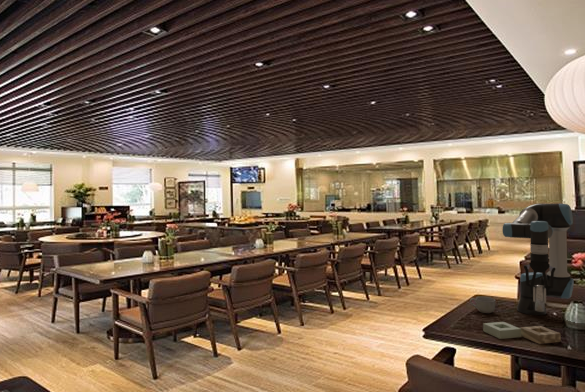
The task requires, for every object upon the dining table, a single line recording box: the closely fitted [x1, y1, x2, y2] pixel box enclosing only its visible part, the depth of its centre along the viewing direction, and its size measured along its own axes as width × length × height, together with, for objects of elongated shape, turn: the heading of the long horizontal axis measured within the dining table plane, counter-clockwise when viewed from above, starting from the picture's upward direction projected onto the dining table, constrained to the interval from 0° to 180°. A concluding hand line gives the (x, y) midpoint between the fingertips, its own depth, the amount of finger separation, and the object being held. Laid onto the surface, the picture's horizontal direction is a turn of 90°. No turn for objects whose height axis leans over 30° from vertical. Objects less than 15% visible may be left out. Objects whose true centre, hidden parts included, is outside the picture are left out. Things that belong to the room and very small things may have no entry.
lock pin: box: [535, 285, 546, 312], centre depth 202 cm, size 4×4×12 cm
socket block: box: [482, 321, 522, 340], centre depth 208 cm, size 12×12×4 cm
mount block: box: [519, 325, 562, 345], centre depth 202 cm, size 12×12×4 cm
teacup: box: [469, 296, 496, 314], centre depth 249 cm, size 14×11×8 cm
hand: (539, 301), depth 202 cm, fingers closed on lock pin, 4 cm apart
